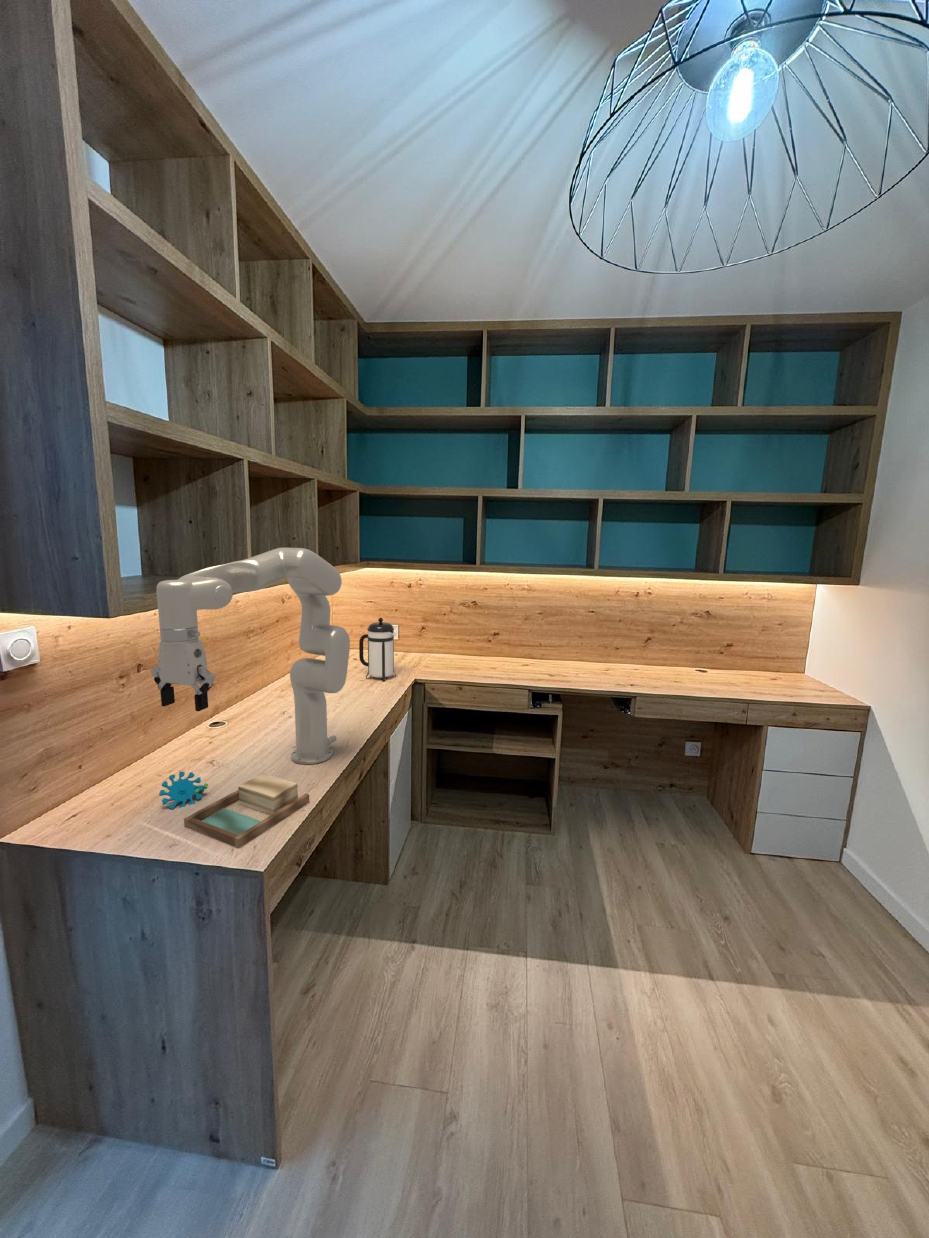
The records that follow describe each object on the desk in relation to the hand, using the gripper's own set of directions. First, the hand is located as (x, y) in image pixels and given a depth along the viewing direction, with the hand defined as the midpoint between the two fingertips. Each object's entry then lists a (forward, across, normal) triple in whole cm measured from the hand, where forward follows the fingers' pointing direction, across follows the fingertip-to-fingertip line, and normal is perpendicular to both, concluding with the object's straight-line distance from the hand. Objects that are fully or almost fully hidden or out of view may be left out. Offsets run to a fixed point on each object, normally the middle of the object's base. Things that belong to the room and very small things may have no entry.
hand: (185, 707), depth 117 cm
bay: (+29, -11, -6) cm, 32 cm away
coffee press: (+30, +15, -130) cm, 134 cm away
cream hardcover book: (+28, -12, -12) cm, 33 cm away
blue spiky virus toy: (+30, +9, -7) cm, 32 cm away
